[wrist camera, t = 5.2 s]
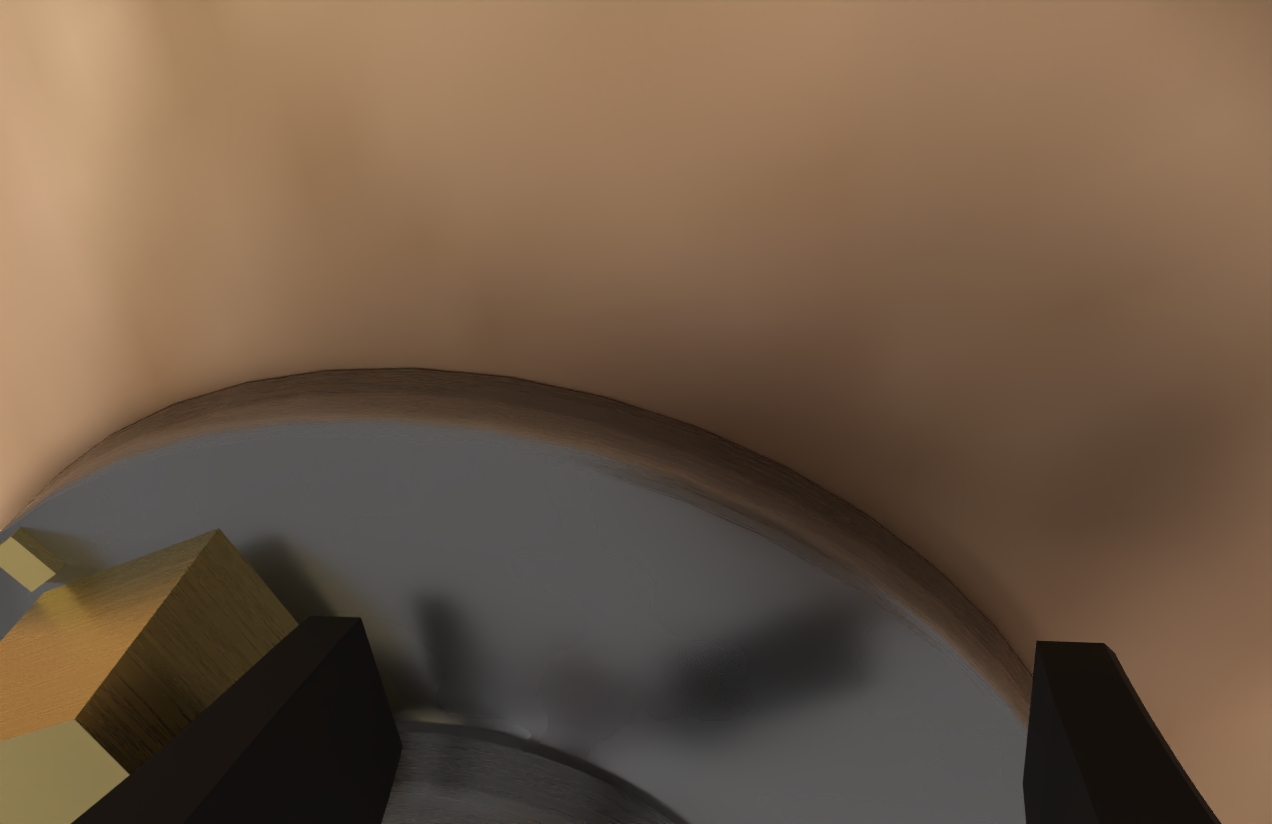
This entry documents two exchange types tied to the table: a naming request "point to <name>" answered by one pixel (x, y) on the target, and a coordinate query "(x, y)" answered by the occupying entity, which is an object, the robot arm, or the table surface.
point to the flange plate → (575, 590)
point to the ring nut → (200, 673)
